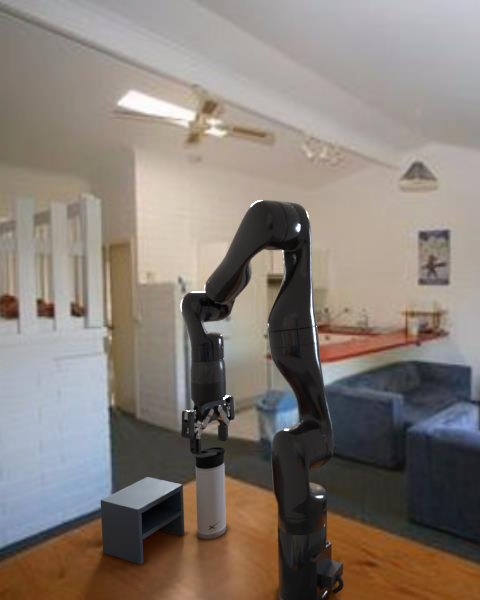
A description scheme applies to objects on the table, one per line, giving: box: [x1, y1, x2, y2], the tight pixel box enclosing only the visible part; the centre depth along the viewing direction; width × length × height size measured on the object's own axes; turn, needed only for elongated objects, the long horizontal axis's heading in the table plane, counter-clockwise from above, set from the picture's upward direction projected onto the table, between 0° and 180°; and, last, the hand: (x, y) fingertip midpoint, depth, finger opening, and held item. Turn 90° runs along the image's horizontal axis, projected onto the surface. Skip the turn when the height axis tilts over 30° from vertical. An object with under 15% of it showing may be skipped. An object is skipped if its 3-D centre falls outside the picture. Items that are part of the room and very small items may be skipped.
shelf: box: [99, 476, 186, 565], centre depth 107 cm, size 11×12×12 cm
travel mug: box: [194, 446, 227, 540], centre depth 111 cm, size 6×7×20 cm
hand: (210, 446), depth 111 cm, fingers open, 8 cm apart
